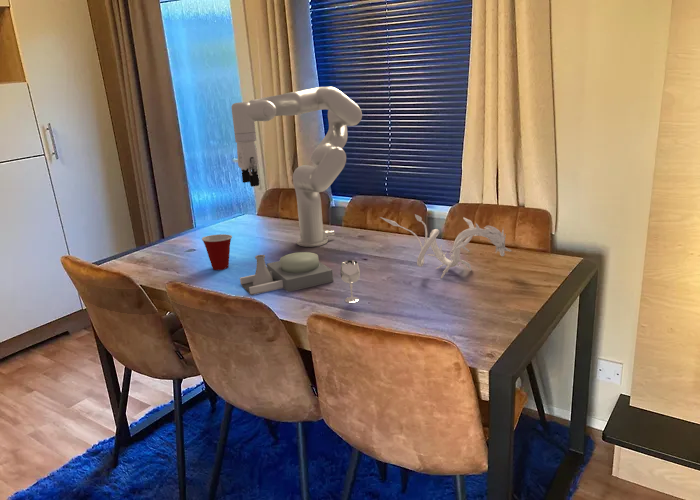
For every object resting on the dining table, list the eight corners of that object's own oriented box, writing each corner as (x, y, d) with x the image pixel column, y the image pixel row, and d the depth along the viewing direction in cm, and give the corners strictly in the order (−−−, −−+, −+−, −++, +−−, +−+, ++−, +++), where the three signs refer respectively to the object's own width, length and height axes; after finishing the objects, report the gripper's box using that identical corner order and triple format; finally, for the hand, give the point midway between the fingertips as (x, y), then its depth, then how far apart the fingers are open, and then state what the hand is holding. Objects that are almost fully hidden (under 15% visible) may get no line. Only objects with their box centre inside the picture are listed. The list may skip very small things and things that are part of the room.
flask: (277, 280, 195) (274, 252, 192) (270, 288, 188) (266, 259, 185) (256, 280, 196) (253, 252, 193) (249, 288, 189) (245, 259, 186)
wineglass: (341, 297, 178) (339, 260, 175) (360, 295, 179) (358, 258, 175) (343, 304, 173) (340, 266, 169) (362, 302, 173) (360, 264, 169)
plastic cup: (241, 263, 216) (237, 232, 213) (226, 273, 207) (222, 241, 203) (216, 262, 220) (211, 231, 216) (200, 271, 210) (195, 240, 207)
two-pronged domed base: (309, 265, 209) (308, 246, 207) (333, 281, 192) (331, 261, 190) (237, 281, 198) (234, 261, 196) (254, 299, 181) (252, 278, 179)
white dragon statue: (367, 271, 195) (370, 205, 182) (390, 244, 211) (394, 181, 198) (494, 307, 179) (507, 237, 166) (509, 275, 195) (522, 209, 182)
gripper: (229, 136, 216) (234, 182, 221) (242, 140, 201) (248, 189, 206) (248, 134, 219) (253, 179, 224) (262, 138, 204) (268, 186, 209)
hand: (250, 184), depth 215 cm, fingers open, 9 cm apart
